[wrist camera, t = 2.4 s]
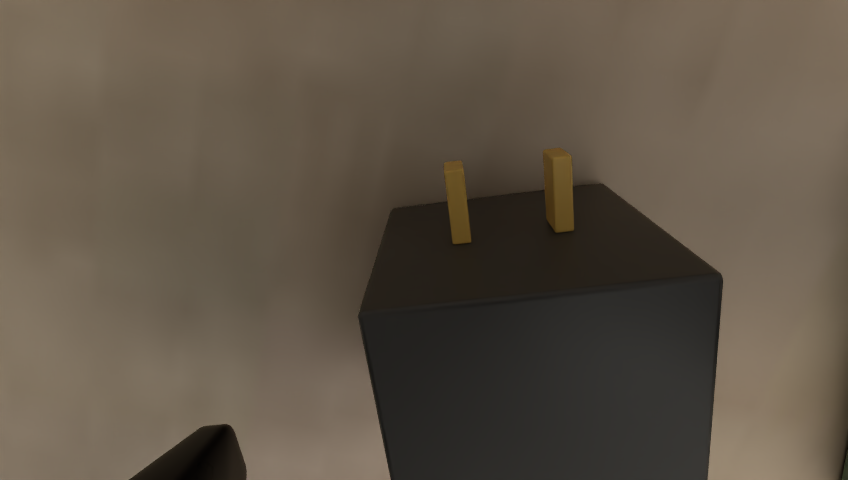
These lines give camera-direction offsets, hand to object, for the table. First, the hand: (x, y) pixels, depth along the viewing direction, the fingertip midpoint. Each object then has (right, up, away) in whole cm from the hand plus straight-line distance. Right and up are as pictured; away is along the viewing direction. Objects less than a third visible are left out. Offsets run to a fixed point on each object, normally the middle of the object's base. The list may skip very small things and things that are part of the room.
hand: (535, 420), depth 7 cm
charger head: (0, +2, +4) cm, 4 cm away
